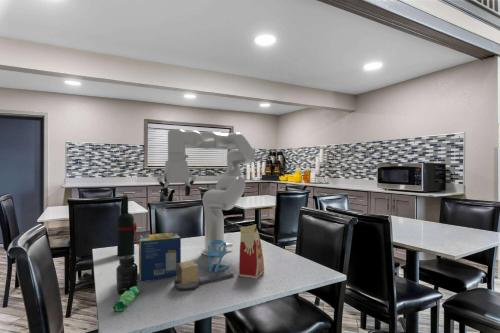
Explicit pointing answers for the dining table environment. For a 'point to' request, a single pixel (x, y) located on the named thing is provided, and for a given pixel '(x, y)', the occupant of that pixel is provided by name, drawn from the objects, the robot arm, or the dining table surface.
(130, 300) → the candy
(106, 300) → the dining table surface
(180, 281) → the brown parcel carton
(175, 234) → the protein box
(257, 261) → the milk carton
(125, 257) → the supplement bottle
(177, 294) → the dining table surface
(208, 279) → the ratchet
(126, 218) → the wine bottle
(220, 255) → the chair
